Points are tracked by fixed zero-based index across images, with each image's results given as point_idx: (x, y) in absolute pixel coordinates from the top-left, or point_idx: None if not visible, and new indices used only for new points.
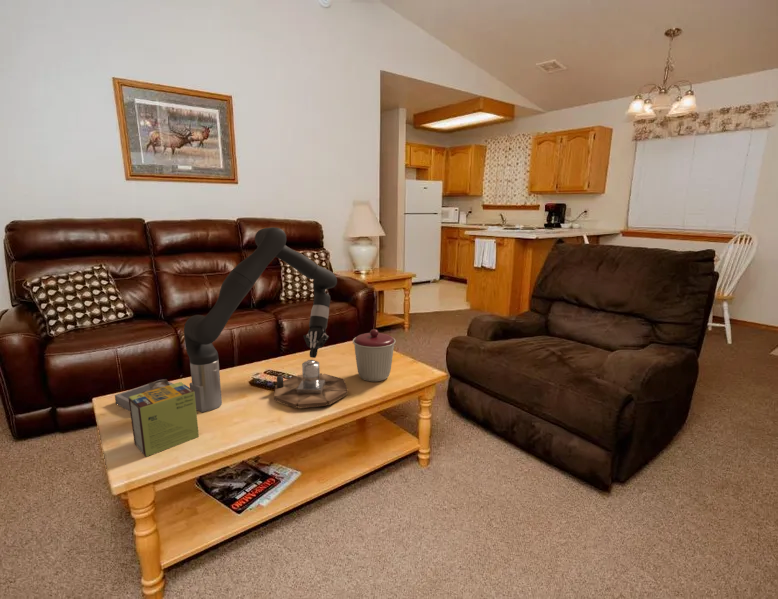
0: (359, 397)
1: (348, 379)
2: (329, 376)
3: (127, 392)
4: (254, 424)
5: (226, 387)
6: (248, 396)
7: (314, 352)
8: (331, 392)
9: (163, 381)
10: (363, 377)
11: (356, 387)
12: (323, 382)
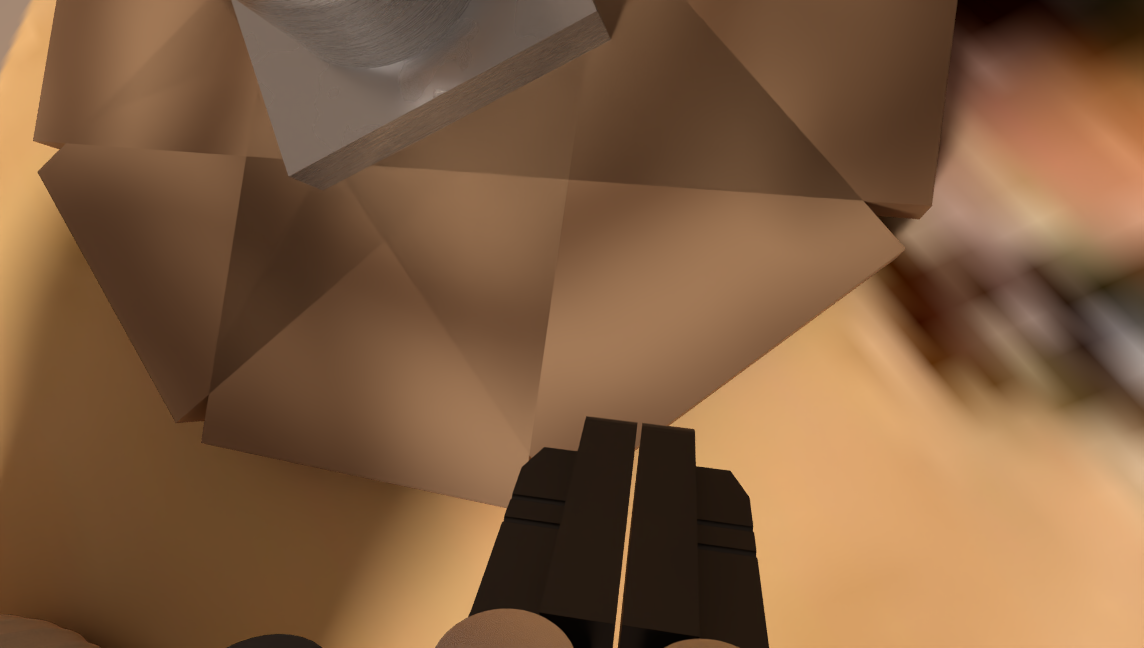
0: (10, 226)
1: (275, 613)
2: (396, 438)
3: None
4: None
5: None
6: None
7: (525, 513)
8: (150, 22)
9: None
10: (48, 628)
11: (113, 430)
12: (274, 98)
